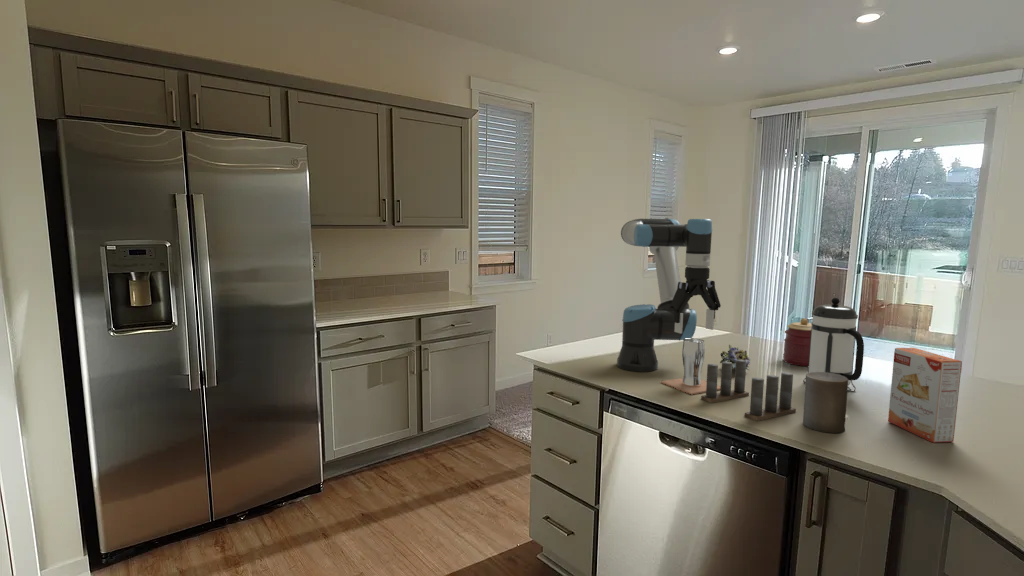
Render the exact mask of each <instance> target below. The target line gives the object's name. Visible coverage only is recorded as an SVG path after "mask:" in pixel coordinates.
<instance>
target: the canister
mask: <svg viewBox="0 0 1024 576" xmlns="http://www.w3.org/2000/svg"><path fill="white" fill-rule="evenodd" d="M811 325H812V322H811V323H810V322H809V320H808V318H801V319H800V321H799V322H798V321H797V322H796V321H795V322H791V323H790V324H788V325H787V329H785V330H784V333H785V338H783V339H784V346H783V354H782V355H783V356H782V359H783V361H784V362H785V363H787V364H790V365H794V366H799V365H800V366H803V367H808V365H809V352H810V338H811Z"/></svg>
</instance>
